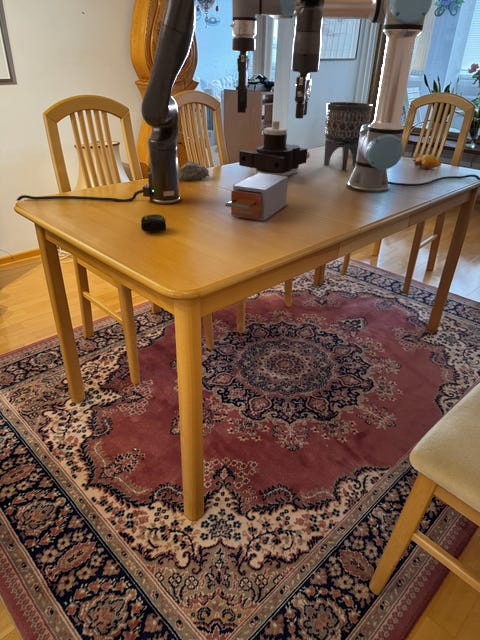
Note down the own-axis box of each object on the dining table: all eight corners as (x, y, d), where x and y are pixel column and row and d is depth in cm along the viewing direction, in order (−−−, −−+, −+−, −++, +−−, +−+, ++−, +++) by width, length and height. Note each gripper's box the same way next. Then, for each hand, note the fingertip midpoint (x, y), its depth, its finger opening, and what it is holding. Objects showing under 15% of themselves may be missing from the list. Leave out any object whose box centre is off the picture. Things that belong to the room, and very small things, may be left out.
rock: (201, 174, 190) (201, 158, 187) (214, 178, 185) (214, 162, 181) (174, 179, 183) (173, 162, 179) (187, 183, 177) (186, 166, 174)
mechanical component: (240, 120, 182) (283, 115, 202) (239, 174, 192) (280, 164, 212) (283, 126, 170) (325, 120, 190) (280, 183, 180) (320, 171, 200)
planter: (313, 167, 208) (319, 103, 195) (331, 160, 222) (338, 101, 209) (353, 173, 199) (362, 107, 185) (369, 166, 213) (379, 104, 199)
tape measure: (141, 234, 126) (140, 221, 124) (142, 226, 132) (141, 214, 130) (166, 233, 127) (165, 220, 125) (166, 225, 133) (165, 213, 131)
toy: (415, 162, 205) (409, 155, 218) (417, 175, 208) (411, 168, 221) (441, 154, 202) (433, 147, 215) (443, 168, 205) (435, 160, 218)
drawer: (251, 224, 133) (251, 199, 129) (222, 220, 136) (222, 195, 132) (280, 204, 151) (282, 181, 148) (254, 200, 155) (255, 178, 151)
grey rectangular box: (263, 220, 139) (265, 189, 134) (232, 215, 143) (233, 185, 138) (285, 205, 155) (287, 176, 150) (257, 200, 158) (258, 172, 154)
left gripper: (296, 52, 130) (291, 113, 138) (289, 51, 118) (284, 118, 127) (322, 52, 129) (316, 114, 137) (317, 52, 117) (311, 120, 125)
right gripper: (234, 38, 155) (233, 106, 165) (229, 35, 133) (229, 114, 144) (256, 38, 155) (253, 107, 165) (255, 35, 133) (252, 114, 144)
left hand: (301, 116), depth 132 cm, fingers open, 8 cm apart
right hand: (242, 110), depth 155 cm, fingers open, 13 cm apart
